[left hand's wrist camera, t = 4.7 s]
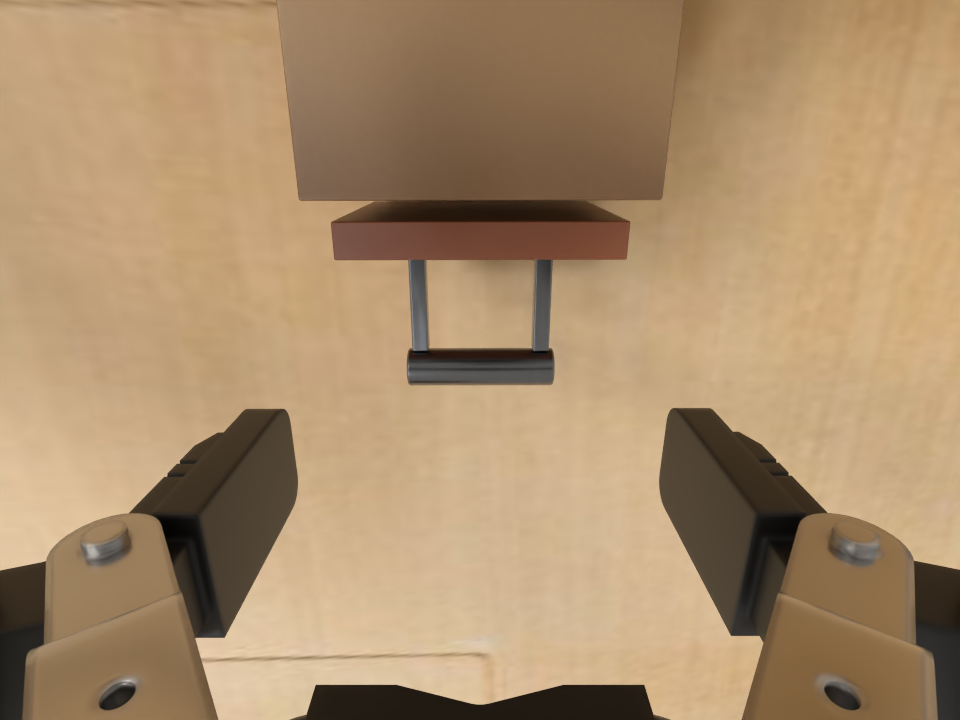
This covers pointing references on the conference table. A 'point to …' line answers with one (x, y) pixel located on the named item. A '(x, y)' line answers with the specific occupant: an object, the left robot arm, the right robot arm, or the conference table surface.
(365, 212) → the drawer
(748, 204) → the conference table surface
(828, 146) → the conference table surface
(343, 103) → the cabinet
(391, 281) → the conference table surface
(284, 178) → the conference table surface
